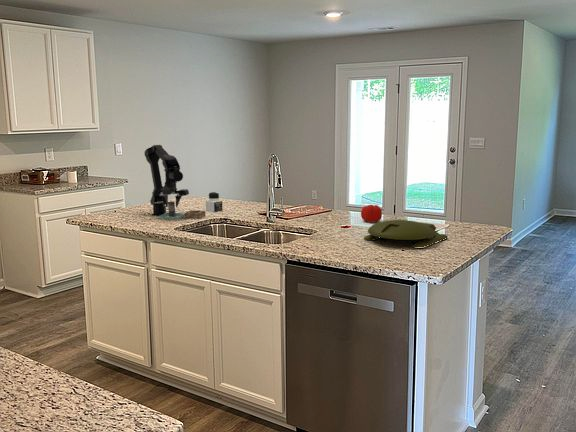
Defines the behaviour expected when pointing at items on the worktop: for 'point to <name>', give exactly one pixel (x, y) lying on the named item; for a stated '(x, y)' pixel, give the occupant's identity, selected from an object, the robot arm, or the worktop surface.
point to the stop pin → (171, 208)
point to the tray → (165, 215)
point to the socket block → (194, 214)
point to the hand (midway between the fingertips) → (171, 207)
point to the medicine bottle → (214, 203)
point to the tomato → (371, 213)
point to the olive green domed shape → (405, 231)
